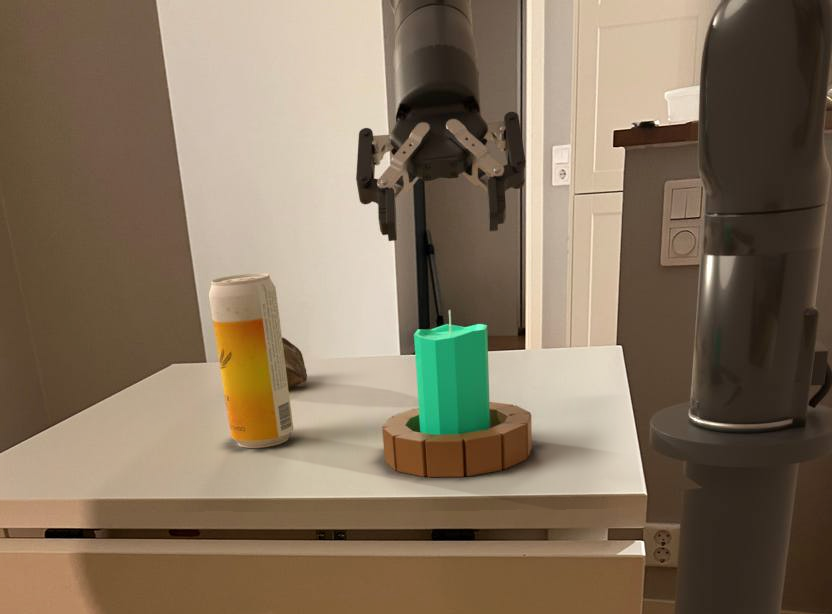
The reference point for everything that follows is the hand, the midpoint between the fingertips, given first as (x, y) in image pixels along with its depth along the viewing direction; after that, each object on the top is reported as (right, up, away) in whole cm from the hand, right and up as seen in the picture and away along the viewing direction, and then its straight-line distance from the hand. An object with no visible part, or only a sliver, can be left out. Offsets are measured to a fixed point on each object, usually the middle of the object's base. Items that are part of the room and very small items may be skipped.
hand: (442, 229), depth 80 cm
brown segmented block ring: (+2, -18, +3) cm, 19 cm away
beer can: (-16, -15, +13) cm, 26 cm away
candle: (+1, -18, +3) cm, 19 cm away
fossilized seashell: (-17, -4, +34) cm, 39 cm away
